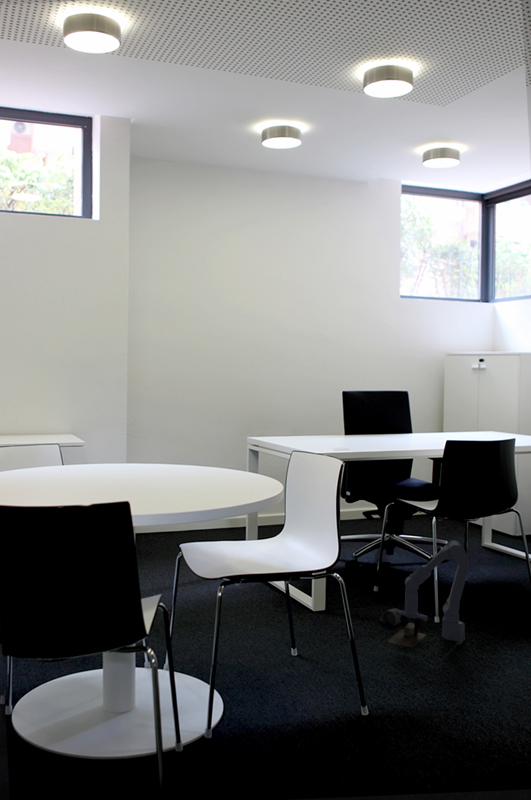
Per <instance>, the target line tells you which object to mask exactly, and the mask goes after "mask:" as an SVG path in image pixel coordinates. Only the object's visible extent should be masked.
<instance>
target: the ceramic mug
mask: <svg viewBox="0 0 531 800" xmlns="http://www.w3.org/2000/svg"><path fill="white" fill-rule="evenodd" d="M396 610H400V609H399V608H395V607H394V608H390V609H387V610H385V611H383V613H382V616H381V618H379V621H380V622H382V623H383V624H385V623H389V624H390V625H392V626H396V625H398V624H401V623H402V622H401V620H400V617H401V616H400V615H395V611H396Z"/></svg>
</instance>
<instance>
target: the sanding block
mask: <svg viewBox="0 0 531 800" xmlns="http://www.w3.org/2000/svg"><path fill="white" fill-rule="evenodd" d="M403 630H404V636H406V637H411V638H413V637H414V636H415V635H414V622H408V624H407V625H406V626H405V627H404V628H403Z"/></svg>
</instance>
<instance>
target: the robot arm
mask: <svg viewBox="0 0 531 800" xmlns="http://www.w3.org/2000/svg"><path fill="white" fill-rule="evenodd" d="M452 559H453V560H454V561H456V563H457V565H456V570H455V572H454V573H455V574H454V578H453V582H452V585H451V588H450V593H449V596H448V597H447V599H446V602H445V603H444V604H443V606H442V612H443V614H444V615H443V616H442V624H441V625H442V626H441V627H442V628H441V629H442V630H441V632H442V633H441V637H442V638H443V639H444V640H448V641H455V645H461V644H462V643H463V642H464V641H465V640H466V638H465V635H466V633H465V632H466V631H465V630H466V627H465V622H463V621H461V620H460V613H459V612H460V611H459V610H460V607H461V606H460V602H461V599H462V595H463V591H464V588H465V584H466V580H467V576H468V573H469V569H470V565H471V561H470V560H469V558H468V555H467V552H466V550H465V549H464V546H463V545H462V543H460V542H459V541H457V540H455V539H453V540H450V541H449V542H447V544H445V545H444V546H443V547H441V549H440V550H439V551H438V552H437V553H436V554H435V555H434V556H433V557H432V558H431V560H429V561H428V563H427V564H422V565H418V566H417V568H416V570H415V571H414V572H413V573H411V574H409V576H407V577H406V578H405V579H404V586H405V588H404V589H405V590H404V591H405V593H404V610H401V609H399V610H396V611H395V615H400V616H401V617H400V620H401V622H400V623H401V625H402V627H403V628H402V629H404V627H405V626H406V625H407V624H408V623H409V619H410V618H411V619H414V620H413V623H414V635H417V633H419V628H420V626H421V624H422V621H424V622H427V621H428V615H425V614H422V613H419V612H418V611H419V610H418V609H419V594H418V590H419V588H420V585H422V584H423V583H424V582H425V581H427V579H428V578H429V577H430V576H431V575H432V570H434V569H435V568H436V567H437V566H438V565H440V564H441V563H443V561H445V560H452Z"/></svg>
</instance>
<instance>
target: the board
mask: <svg viewBox="0 0 531 800" xmlns="http://www.w3.org/2000/svg"><path fill="white" fill-rule="evenodd" d="M426 636H427V634H425V633H422V632H418V633H417V635H415V636H414V637H413V638H411V637H406V636H404V628H401V629H400V630H398V631H397V632H396V633H395V634H394V635H393V636H392V637H390V638H389V639H388V640H387V641H386V642H387V643H390V644H395V645H399V646H404V647H408V648H412V649H413V648H414V647H415V646H417V644H418V643H419V642H420V641H422V640H423V639H424V638H425V637H426Z"/></svg>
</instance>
